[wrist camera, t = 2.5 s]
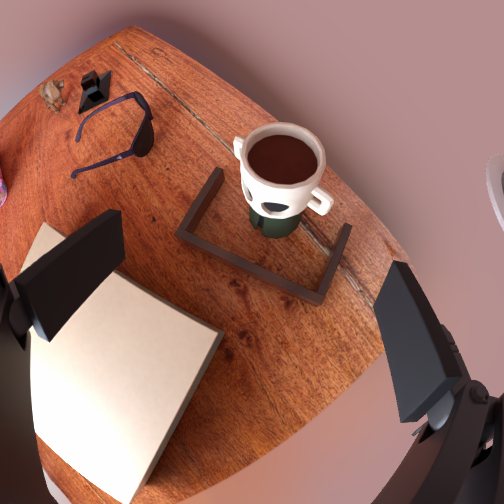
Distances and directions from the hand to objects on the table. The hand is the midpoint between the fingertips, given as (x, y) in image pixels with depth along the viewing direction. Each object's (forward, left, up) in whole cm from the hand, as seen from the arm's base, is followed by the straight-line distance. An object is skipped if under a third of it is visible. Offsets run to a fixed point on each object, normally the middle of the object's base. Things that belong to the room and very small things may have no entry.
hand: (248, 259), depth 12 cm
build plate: (+48, -22, -19) cm, 57 cm away
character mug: (+2, -10, -19) cm, 22 cm away
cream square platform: (+15, +18, -19) cm, 30 cm away
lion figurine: (+58, -17, -19) cm, 64 cm away
